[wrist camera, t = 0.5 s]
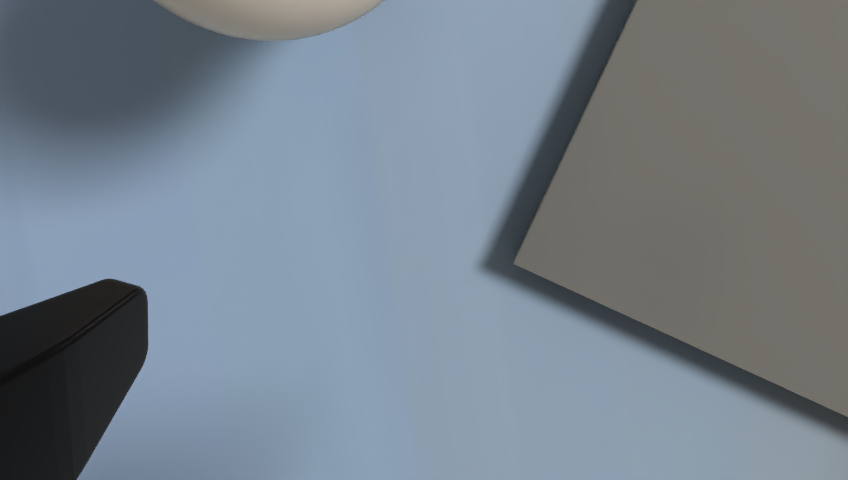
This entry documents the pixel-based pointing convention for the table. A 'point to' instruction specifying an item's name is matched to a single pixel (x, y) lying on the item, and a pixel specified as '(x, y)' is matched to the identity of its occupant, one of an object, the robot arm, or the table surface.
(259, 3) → the lightbulb
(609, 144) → the slate tile
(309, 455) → the table surface
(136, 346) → the robot arm
